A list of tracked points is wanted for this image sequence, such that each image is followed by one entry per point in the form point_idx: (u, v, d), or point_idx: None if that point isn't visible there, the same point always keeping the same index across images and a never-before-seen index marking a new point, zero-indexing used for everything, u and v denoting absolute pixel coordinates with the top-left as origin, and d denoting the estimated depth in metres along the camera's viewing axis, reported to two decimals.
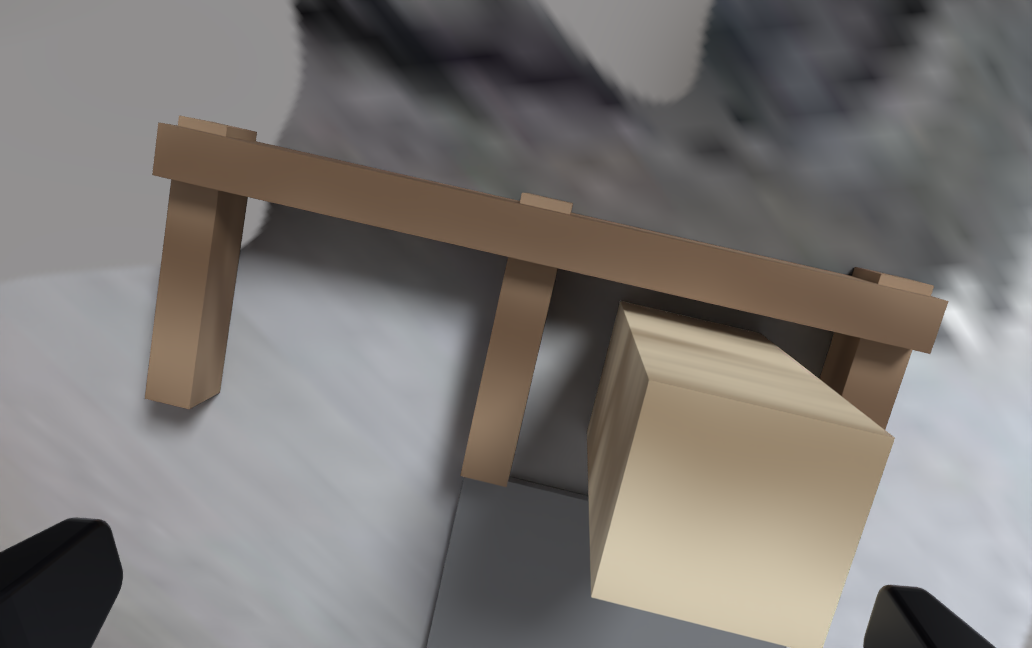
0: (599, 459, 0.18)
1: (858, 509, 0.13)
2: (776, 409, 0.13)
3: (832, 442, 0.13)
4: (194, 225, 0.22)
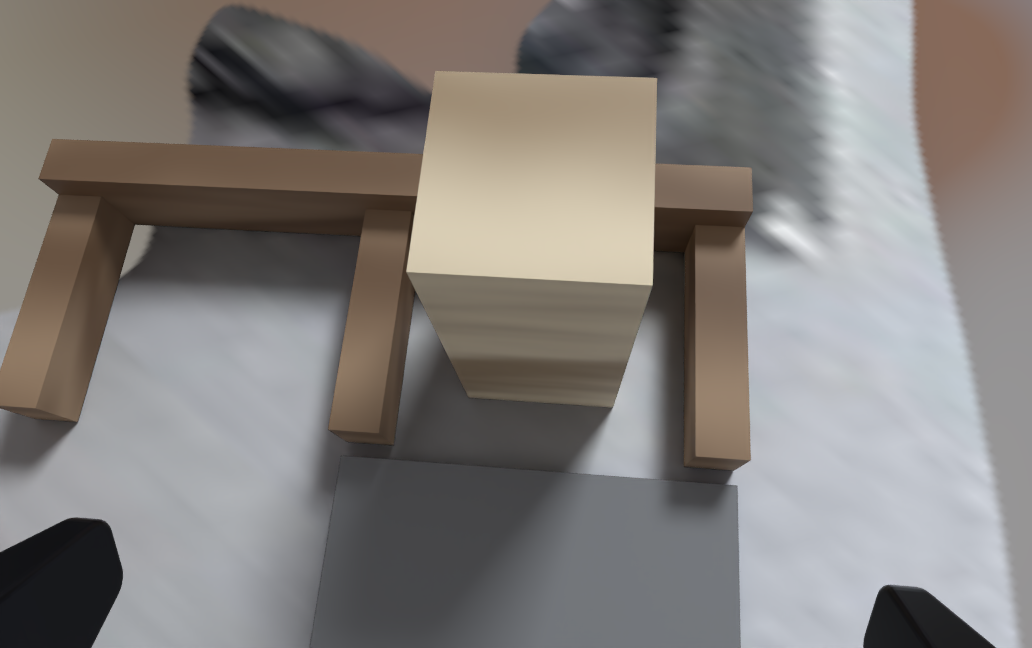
0: None
1: (645, 140, 0.14)
2: (550, 76, 0.15)
3: (605, 91, 0.15)
4: (72, 231, 0.23)
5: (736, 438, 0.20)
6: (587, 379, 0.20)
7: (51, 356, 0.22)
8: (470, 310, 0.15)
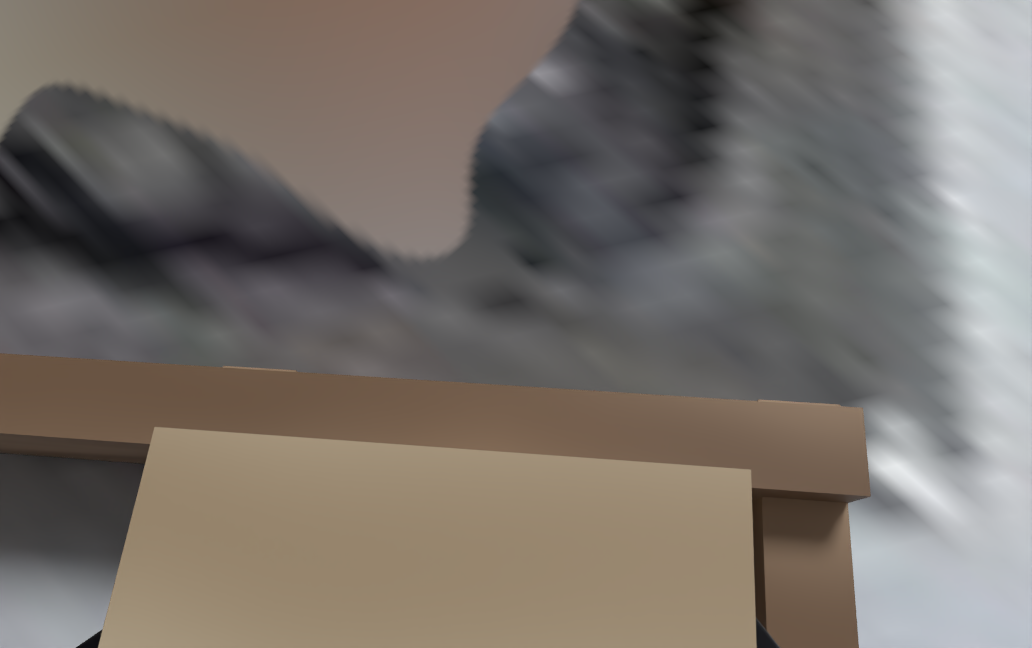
0: None
1: None
2: (458, 449, 0.05)
3: (607, 508, 0.05)
4: None
5: None
6: None
7: None
8: None
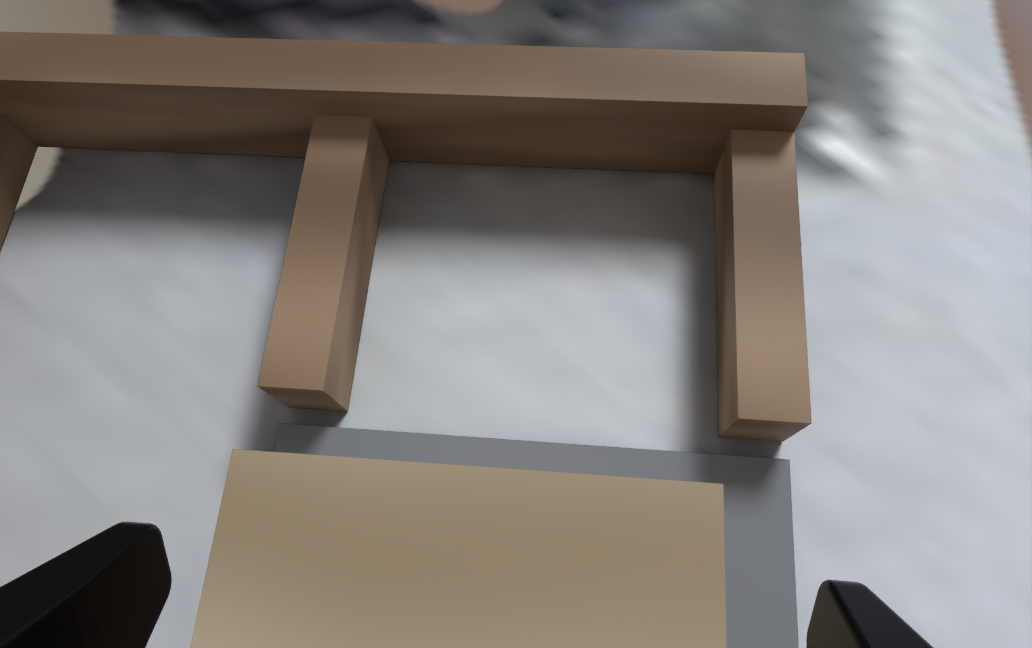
0: None
1: None
2: (483, 467, 0.07)
3: (606, 516, 0.06)
4: None
5: (791, 395, 0.15)
6: None
7: None
8: None
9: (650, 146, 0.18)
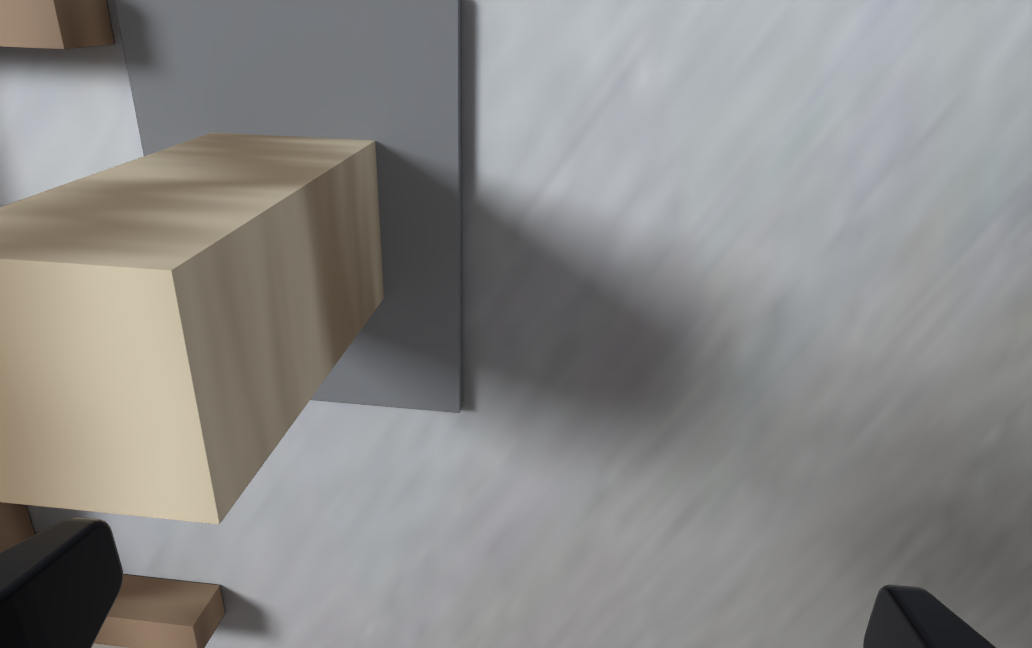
0: None
1: None
2: None
3: None
4: None
5: None
6: (338, 205, 0.17)
7: (150, 621, 0.26)
8: (261, 413, 0.13)
9: None
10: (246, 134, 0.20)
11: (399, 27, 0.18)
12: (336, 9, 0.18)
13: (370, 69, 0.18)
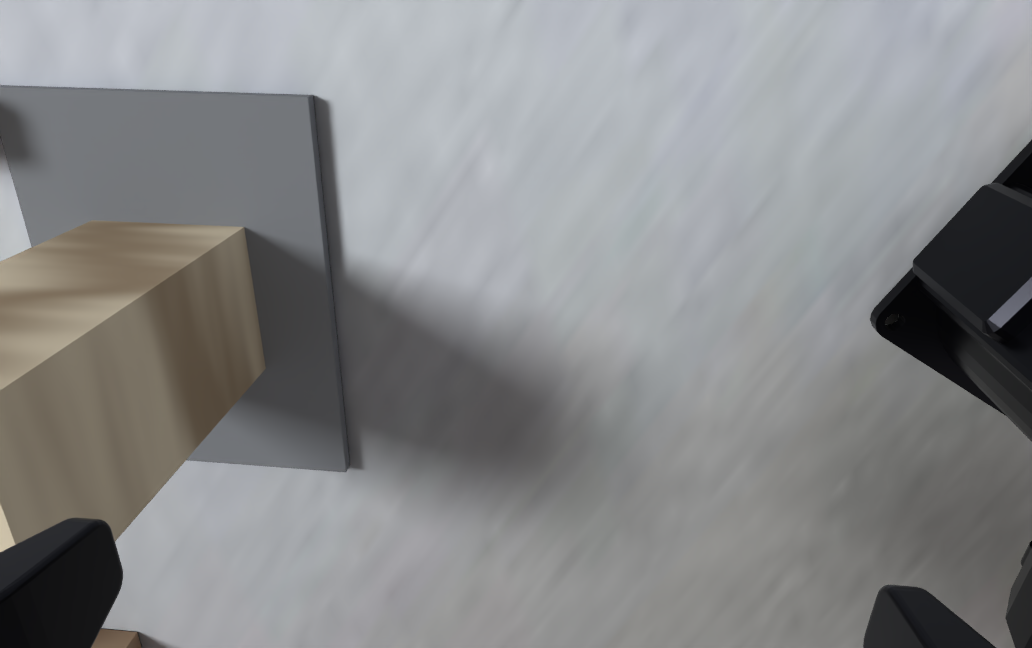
0: None
1: None
2: None
3: None
4: None
5: None
6: (194, 299, 0.18)
7: None
8: (95, 512, 0.15)
9: None
10: (124, 222, 0.21)
11: (256, 126, 0.19)
12: (197, 110, 0.19)
13: (233, 163, 0.20)
